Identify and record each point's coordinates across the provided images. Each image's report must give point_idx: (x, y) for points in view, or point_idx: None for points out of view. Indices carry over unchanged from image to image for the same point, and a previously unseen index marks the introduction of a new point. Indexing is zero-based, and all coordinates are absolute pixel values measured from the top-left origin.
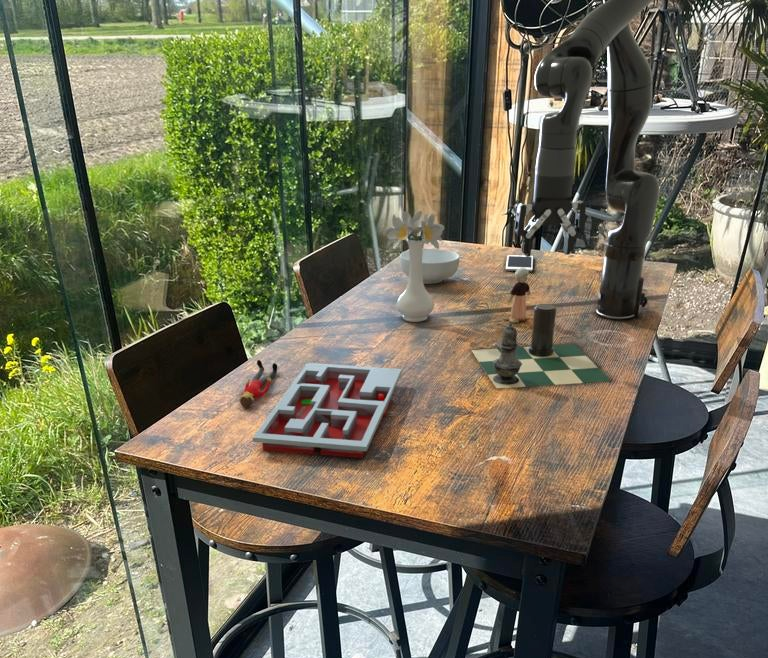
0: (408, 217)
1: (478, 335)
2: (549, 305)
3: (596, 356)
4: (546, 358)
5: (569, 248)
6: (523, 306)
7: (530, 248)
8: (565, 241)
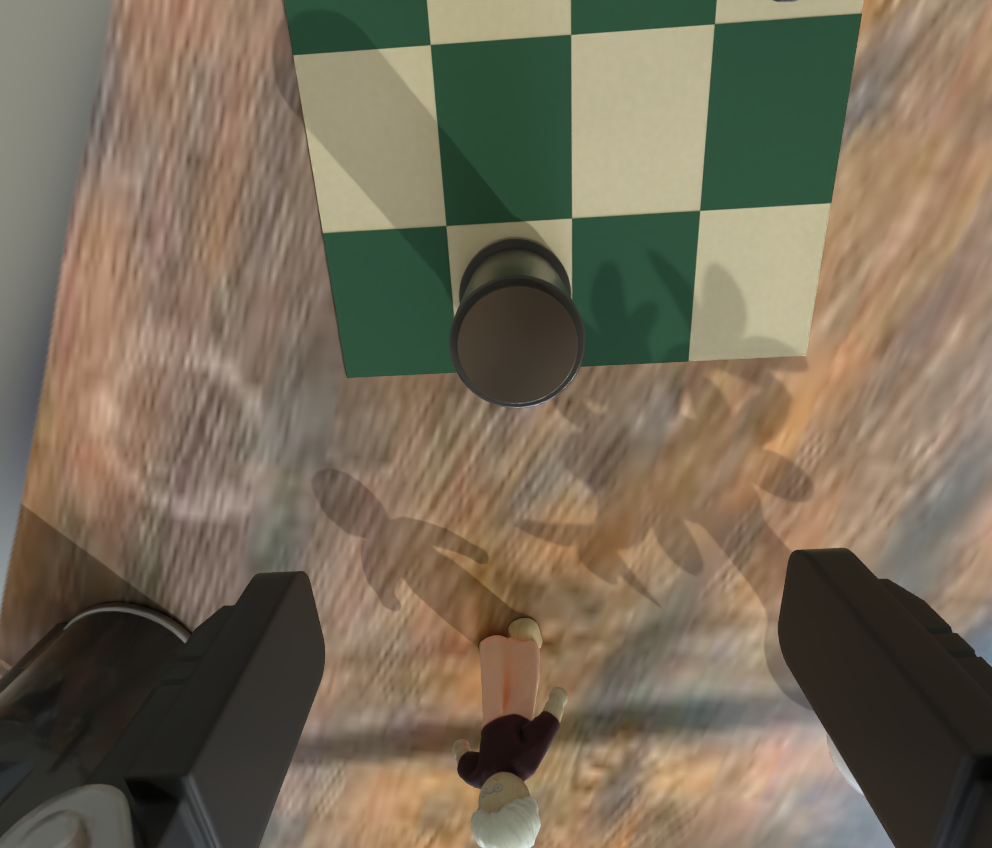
0: None
1: (708, 516)
2: (485, 368)
3: (275, 225)
4: (509, 213)
5: (241, 618)
6: (494, 675)
7: (868, 612)
8: (266, 761)
